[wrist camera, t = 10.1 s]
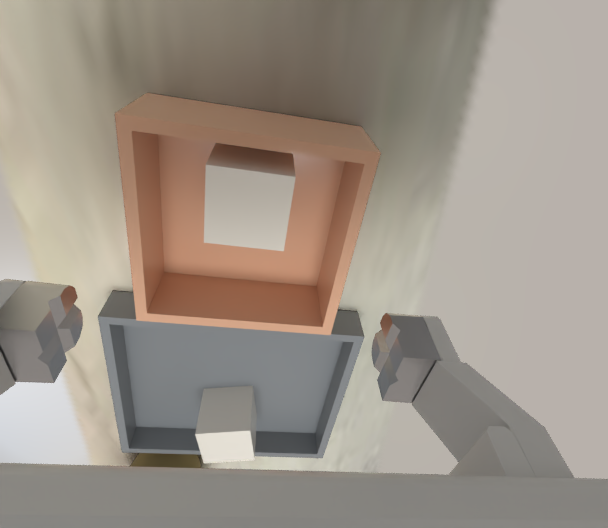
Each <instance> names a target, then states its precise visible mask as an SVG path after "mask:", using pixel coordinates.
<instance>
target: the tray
mask: <svg viewBox="0 0 608 528" xmlns="http://www.w3.org/2000/svg"><path fill="white" fill-rule="evenodd" d="M98 320H99V326H100V331H101V337H102V343H103V348H104V354H105V360H106V365H107V371H108V376H109V382H110V388H111V393H112V399H113V405H114V410H115V416H116V422H117V427H118V433H119V438H120V444H121V450H122V452H126V453H162V454H197V455H201V452H200V449H199V446H198V442H197V439H196V436H195V432H196V427H197V421H198V416H199V411H200V406H201V400H202V395H203V390H204V389H206V388H223V387H240V386H253V390H254V398H255V405H256V413H257V422H256V444H255V456H268V457H304V458H323V455H324V452H325V449H326V447H327V444H328V441H329V438H330V435H331V432H332V429H333V426H334V423H335V420H336V418H337V415H338V412H339V409H340V406H341V403H342V400H343V397H344V394H345V391H346V389H347V386H348V383H349V380H350V377H351V374H352V371H353V368H354V365H355V362H356V360H357V357H358V354H359V351H360V348H361V345H362V342H363V339H364V333H363V330H362V326H361V322H360V319H359V315H358V312H356V311H344V310H337V314H336V317H335V321H334V324H333V328H332V332H331V335H321V334H308V333H294V332H281V331H268V330H255V329H241V328H228V327H215V326H202V325H188V324H175V323H162V322H149V321H136V312H135V302H134V293H133V292H122V291H112V293H111V295H110V296H109V298H108V300H107V302H106V303H105V305H104V307H103V308H102V310H101V312H100V314H99V315H98Z"/></svg>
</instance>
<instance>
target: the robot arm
mask: <svg viewBox="0 0 608 528" xmlns="http://www.w3.org/2000/svg"><path fill="white" fill-rule="evenodd" d="M77 298H78V297H77V294H76V291H75V288H74V287H72V286H70V285H61V284H52V283H43V282H34V281H19V280H11V279H4V280H2V281H0V395H1V394H2V393H4V392H5V391H6V390H8V389H9V388H10V387H12V386H13V385H14V384H15V382H42V383H54V382H55V380H56V379H57V377H58V375H59V373H60V372H61V370H62V368H63V366H64V365H65V363H66V361H67V360H66V356H65V352H66V351H68V350H70V349H71V348H73V347H74V346H75V345H76V343H77V341H78V339H79V337H80V334H81V330H82V326H83V318H82V313H81V310H80V309H79V308H77V307H76V306H75V305H74V302H75V301H76V299H77ZM380 324H381V328H382V330H380V331H379V332H378V333H376V334H375V337H374V340H373V345H372V359H373V364H374V367H375V368H376V369H377V370H378V371H379V372H380V375H379V377H378V379H377V381H378V385H379V389H380V393H381V397H382V401H393V402H405V403H412V405H413V407H414V408H415V409H416V410H417V412H418V413H419V414H420V415H421V416H422V418H423V419H424V420H425V421H426V423H427V424H428V425H429V426H430V428H431V429H432V430H433V431H434V432H435V434H436V435H437V436H438V437H439V438H440V440H441V441H442V442H443V443H444V445H445V446H446V447H447V448H448V450H449V451H450V452H451V453H452V455H453V456H454V457H455V458H456V459H457V461H458V462H459V463H458V464H457V465H456V467H455V468H454V469H453V470H452V471H451V472H450V474H449V475H438V474H401V473H364V472H326V471H289V470H251V469H212V468H173V467H133V466H96V465H58V464H20V463H0V528H608V479H587V478H574V477H573V475H572V473H571V471H570V469H569V468H568V466H567V464H566V463H565V461H564V460H563V458H562V456H561V454H560V453H559V451H558V449H557V447H556V446H555V444H554V442H553V441H552V439H551V437H550V435H549V434H548V432H547V430H546V429H545V427H544V426H542V425H541V424H540V423H539V422H538V421H536V420H535V419H534V418H533V417H531V416H530V415H529V414H528V413H526V412H525V411H524V410H523V409H522V408H520V407H519V406H518V405H517V404H516V403H514V402H513V401H512V400H511V399H509V398H508V397H507V396H506V395H505V394H503V393H502V392H501V391H500V390H499V389H497V388H496V387H495V386H494V385H493V384H491V383H490V382H489V381H488V380H486V379H485V378H484V377H483V376H481V375H480V374H479V373H478V372H477V371H476V370H474V369H473V368H472V367H471V366H469V365H468V364H467V363H462V362H461V361H460V359H459V357H458V355H457V353H456V351H455V349H454V347H453V345H452V342H451V340H450V338H449V336H448V334H447V332H446V330H445V328H444V326H443V324H442V322H441V320H440V319H439V318H438V317H434V316H418V315H405V314H392V313H385V315H384V316H383V317H382V320H381V322H380Z"/></svg>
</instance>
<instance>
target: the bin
mask: <svg viewBox="0 0 608 528" xmlns="http://www.w3.org/2000/svg"><path fill="white" fill-rule="evenodd" d="M115 121H116V131H117V140H118V150H119V159H120V169H121V178H122V188H123V197H124V207H125V216H126V226H127V236H128V245H129V255H130V264H131V274H132V283H133V293H134V302H135V312H136V321H149V322H162V323H175V324H188V325H202V326H215V327H228V328H241V329H255V330H268V331H281V332H294V333H308V334H321V335H331V332H332V328H333V324H334V321H335V317H336V314H337V310H338V306H339V303H340V299H341V295H342V292H343V288H344V285H345V281H346V277H347V274H348V270H349V267H350V263H351V259H352V256H353V252H354V248H355V245H356V241H357V238H358V234H359V230H360V227H361V223H362V220H363V216H364V212H365V209H366V205H367V202H368V198H369V194H370V191H371V187H372V183H373V180H374V176H375V173H376V169H377V165H378V162H379V158H380V155H381V152H380V151H379V150H378V148H377V147H376V146H375V144H374V143H373V141H372V140H371V139H370V137H369V136H368V135H367V133H366V132H365V131H364V129H363V128H362V127H361V126H355V125H349V124H342V123H336V122H330V121H323V120H317V119H311V118H304V117H298V116H292V115H285V114H279V113H273V112H266V111H260V110H254V109H247V108H241V107H235V106H228V105H222V104H216V103H209V102H203V101H197V100H190V99H184V98H178V97H171V96H165V95H159V94H152V93H146V94H144V95H143V96H141V97H139V98H138V99H136V100H135V101H133V102H132V103H130V104H128V105H127V106H125V107H124V108H122V109H121V110H119V111H117V112H116V113H115ZM215 143H221V144H228V145H235V146H242V147H249V148H256V149H263V150H270V151H277V152H284V153H291V154H293V159H294V167H295V176H296V178H295V184H294V191H293V197H292V203H291V209H290V215H289V222H288V228H287V234H286V240H285V246H284V251H276V250H267V249H258V248H249V247H239V246H230V245H221V244H212V243H204V212H205V172H206V163H207V161H208V158H209V156H210V154H211V152H212V150H213V147H214V145H215Z"/></svg>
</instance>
